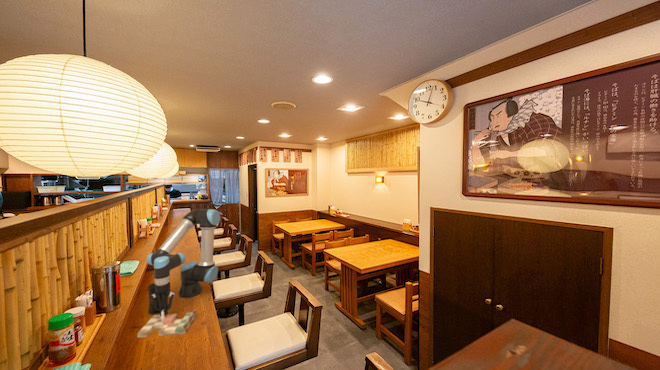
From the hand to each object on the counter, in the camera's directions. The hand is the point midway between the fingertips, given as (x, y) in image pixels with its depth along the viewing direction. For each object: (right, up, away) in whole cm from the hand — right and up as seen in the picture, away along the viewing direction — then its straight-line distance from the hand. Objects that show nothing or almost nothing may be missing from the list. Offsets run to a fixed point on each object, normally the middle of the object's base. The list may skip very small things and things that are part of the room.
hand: (164, 320), depth 150 cm
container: (-16, -2, +16) cm, 23 cm away
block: (+3, -1, 0) cm, 3 cm away
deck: (+2, -4, +1) cm, 4 cm away
